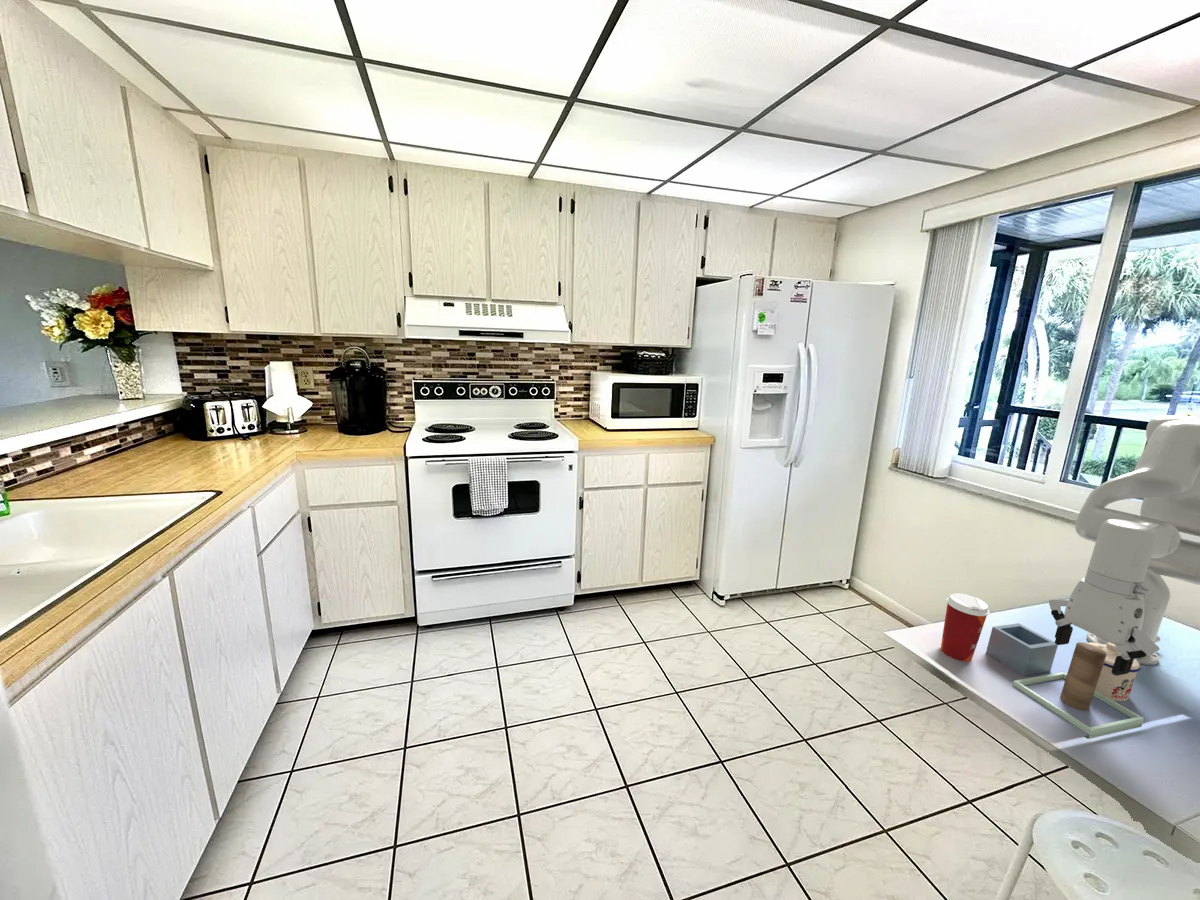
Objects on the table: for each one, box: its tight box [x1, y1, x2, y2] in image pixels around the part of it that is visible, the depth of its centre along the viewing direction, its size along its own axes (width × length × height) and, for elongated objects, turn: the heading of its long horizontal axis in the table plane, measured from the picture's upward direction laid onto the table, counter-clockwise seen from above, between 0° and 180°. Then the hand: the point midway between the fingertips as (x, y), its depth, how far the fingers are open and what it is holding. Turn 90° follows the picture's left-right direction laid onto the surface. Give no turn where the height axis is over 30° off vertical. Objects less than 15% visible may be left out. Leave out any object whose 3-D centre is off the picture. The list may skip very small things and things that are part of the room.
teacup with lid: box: [1087, 642, 1141, 702], centre depth 105 cm, size 12×9×12 cm
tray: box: [1012, 671, 1145, 740], centre depth 100 cm, size 15×14×2 cm
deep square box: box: [985, 623, 1059, 676], centre depth 113 cm, size 8×8×8 cm
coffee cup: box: [940, 592, 991, 663], centre depth 114 cm, size 8×8×15 cm
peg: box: [1059, 641, 1107, 711], centre depth 99 cm, size 4×4×13 cm
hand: (1088, 658), depth 98 cm, fingers open, 9 cm apart
